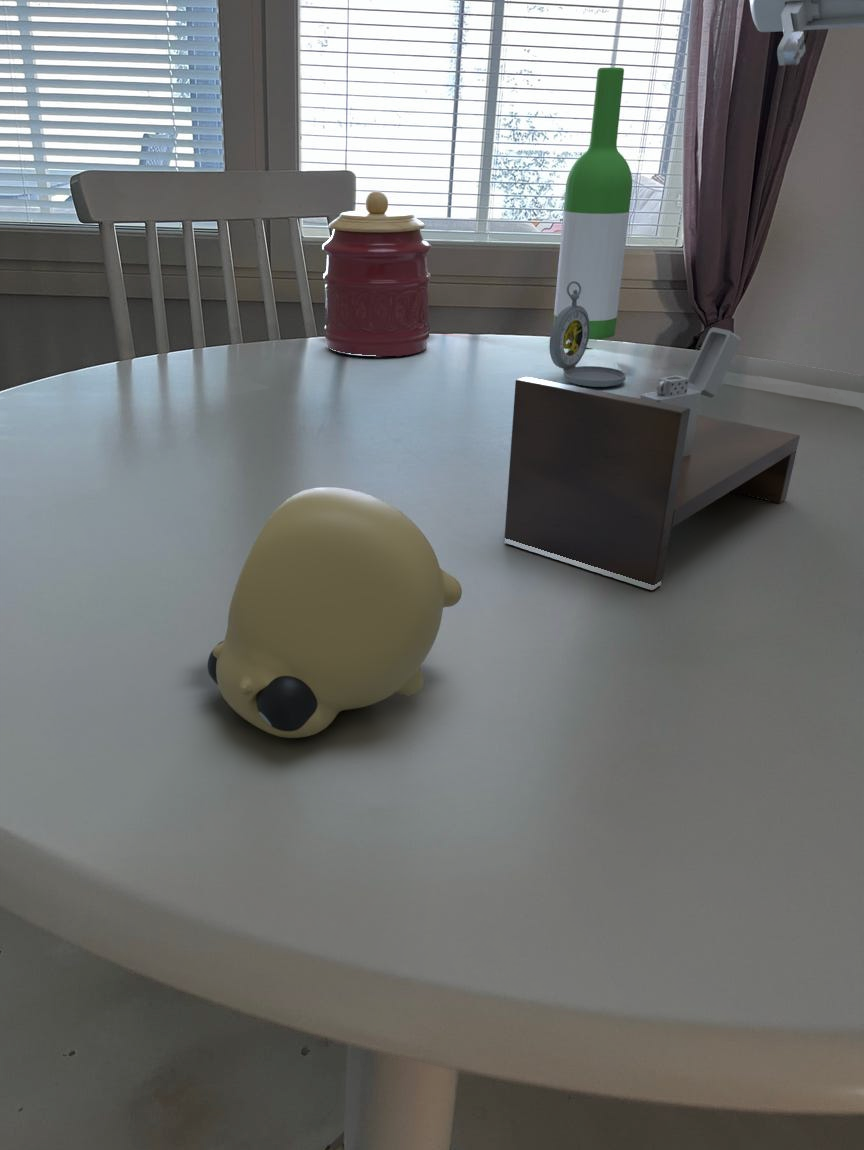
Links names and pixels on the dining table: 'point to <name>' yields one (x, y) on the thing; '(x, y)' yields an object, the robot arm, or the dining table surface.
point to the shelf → (626, 473)
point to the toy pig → (330, 612)
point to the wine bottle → (596, 216)
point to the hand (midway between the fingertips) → (846, 56)
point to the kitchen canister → (377, 282)
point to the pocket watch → (578, 347)
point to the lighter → (698, 378)
